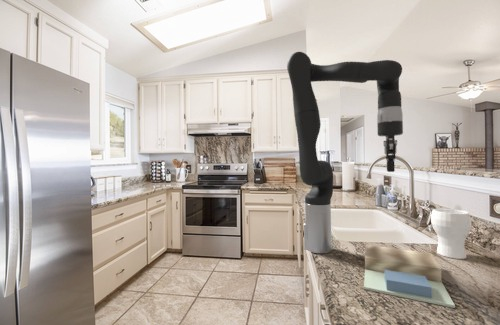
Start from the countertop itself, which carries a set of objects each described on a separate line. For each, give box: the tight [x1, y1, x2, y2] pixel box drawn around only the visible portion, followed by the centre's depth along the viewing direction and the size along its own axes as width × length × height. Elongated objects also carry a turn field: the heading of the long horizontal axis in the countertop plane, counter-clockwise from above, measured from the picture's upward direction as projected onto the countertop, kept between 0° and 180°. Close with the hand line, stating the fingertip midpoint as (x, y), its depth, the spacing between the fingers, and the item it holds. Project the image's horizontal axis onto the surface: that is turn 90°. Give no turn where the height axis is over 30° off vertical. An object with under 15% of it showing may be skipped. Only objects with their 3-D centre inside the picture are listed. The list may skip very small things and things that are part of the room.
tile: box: [385, 270, 432, 298], centre depth 59 cm, size 9×6×2 cm, turn 64°
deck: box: [364, 244, 442, 283], centre depth 71 cm, size 18×12×4 cm, turn 62°
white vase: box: [430, 208, 472, 260], centre depth 81 cm, size 11×11×15 cm
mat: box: [363, 268, 456, 309], centre depth 60 cm, size 18×11×1 cm, turn 62°
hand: (390, 171), depth 81 cm, fingers closed
